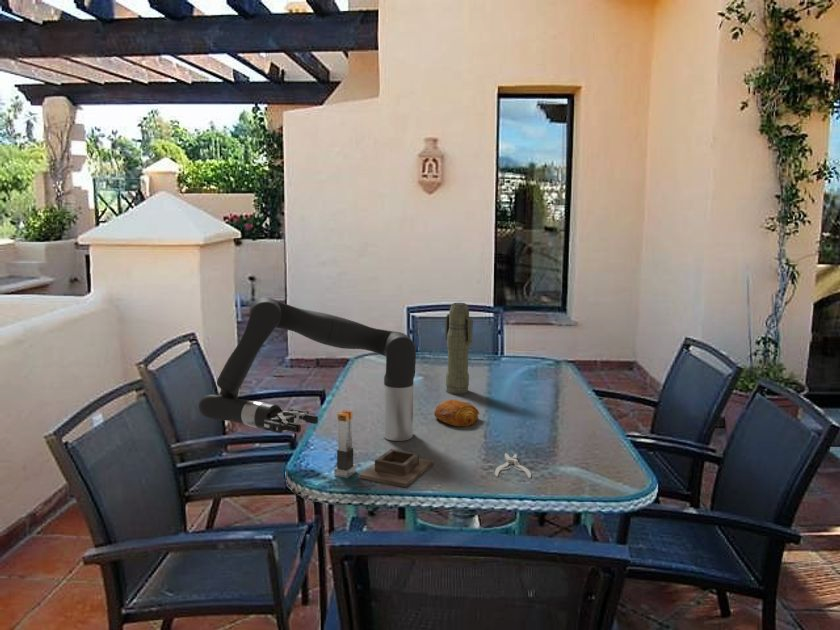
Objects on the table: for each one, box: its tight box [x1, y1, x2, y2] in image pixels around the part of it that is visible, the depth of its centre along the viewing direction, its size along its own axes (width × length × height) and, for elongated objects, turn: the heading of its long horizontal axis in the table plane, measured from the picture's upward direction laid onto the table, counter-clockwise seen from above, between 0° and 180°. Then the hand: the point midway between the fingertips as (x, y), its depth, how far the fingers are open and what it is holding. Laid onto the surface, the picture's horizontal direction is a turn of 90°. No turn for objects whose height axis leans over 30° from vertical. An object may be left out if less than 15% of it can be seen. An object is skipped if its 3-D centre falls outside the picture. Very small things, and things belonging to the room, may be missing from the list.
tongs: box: [333, 409, 357, 479], centre depth 188 cm, size 5×4×18 cm
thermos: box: [445, 302, 474, 395], centre depth 268 cm, size 9×12×35 cm
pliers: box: [494, 452, 532, 479], centre depth 196 cm, size 10×2×15 cm
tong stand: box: [358, 448, 434, 488], centre depth 192 cm, size 18×14×4 cm
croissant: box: [433, 399, 480, 428], centre depth 236 cm, size 14×16×8 cm
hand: (308, 424), depth 192 cm, fingers open, 8 cm apart
